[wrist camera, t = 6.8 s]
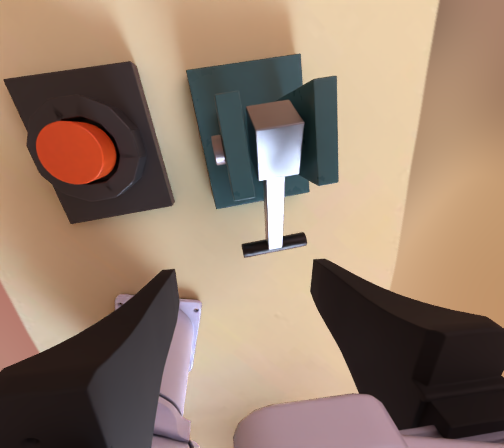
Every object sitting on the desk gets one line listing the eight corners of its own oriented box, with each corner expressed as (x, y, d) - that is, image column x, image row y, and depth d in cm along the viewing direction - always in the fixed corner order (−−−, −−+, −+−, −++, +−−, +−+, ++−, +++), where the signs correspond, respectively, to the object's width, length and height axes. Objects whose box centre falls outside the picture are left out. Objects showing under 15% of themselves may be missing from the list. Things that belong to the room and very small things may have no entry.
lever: (299, 231, 20) (309, 255, 19) (241, 242, 20) (245, 267, 18) (317, 94, 12) (336, 116, 10) (216, 110, 12) (221, 135, 10)
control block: (175, 202, 20) (168, 212, 18) (78, 219, 20) (55, 233, 17) (136, 65, 17) (120, 52, 14) (17, 82, 16) (-25, 72, 13)
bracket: (304, 189, 21) (367, 230, 12) (216, 205, 21) (214, 260, 12) (295, 58, 18) (375, -20, 9) (188, 73, 17) (153, 9, 8)
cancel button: (124, 173, 17) (112, 179, 15) (71, 182, 16) (52, 189, 15) (105, 118, 15) (89, 115, 13) (47, 127, 15) (22, 126, 13)
